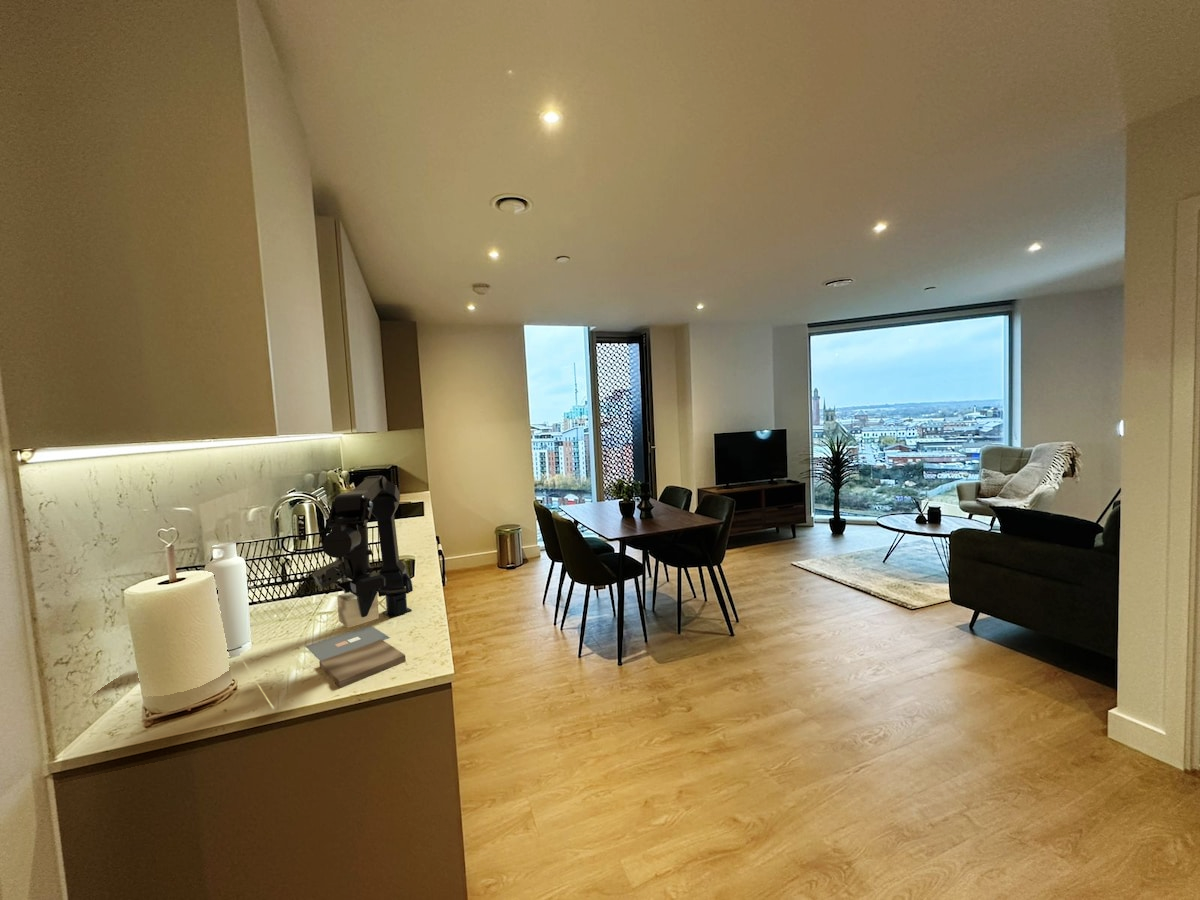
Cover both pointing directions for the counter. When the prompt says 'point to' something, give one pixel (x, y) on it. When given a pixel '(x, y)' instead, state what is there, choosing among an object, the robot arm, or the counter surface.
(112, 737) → the counter surface
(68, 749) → the counter surface
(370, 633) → the tile
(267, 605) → the counter surface
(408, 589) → the robot arm
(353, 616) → the oak block
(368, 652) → the walnut pad
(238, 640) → the bottle
